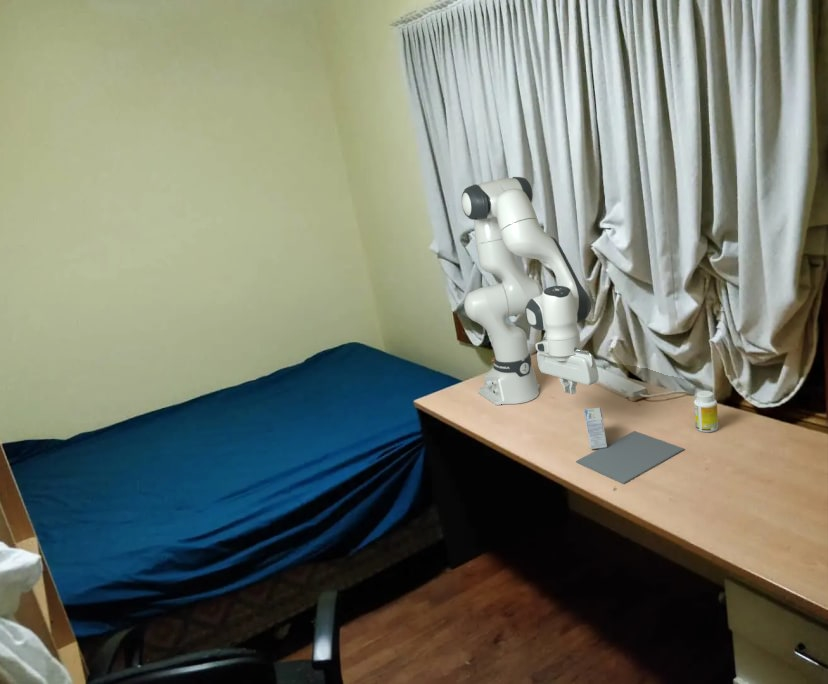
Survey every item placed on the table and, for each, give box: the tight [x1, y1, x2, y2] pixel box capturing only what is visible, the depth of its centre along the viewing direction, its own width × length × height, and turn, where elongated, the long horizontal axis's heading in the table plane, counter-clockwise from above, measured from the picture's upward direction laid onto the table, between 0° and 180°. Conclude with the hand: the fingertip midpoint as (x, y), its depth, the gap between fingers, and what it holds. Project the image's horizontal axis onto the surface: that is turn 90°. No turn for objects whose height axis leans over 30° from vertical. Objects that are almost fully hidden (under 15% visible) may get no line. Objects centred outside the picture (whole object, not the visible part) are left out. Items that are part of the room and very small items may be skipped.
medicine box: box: [584, 407, 608, 450], centre depth 172 cm, size 8×4×9 cm, turn 169°
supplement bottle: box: [693, 390, 719, 433], centre depth 168 cm, size 6×6×10 cm
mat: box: [575, 430, 685, 485], centre depth 163 cm, size 16×22×1 cm
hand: (570, 392), depth 176 cm, fingers closed
